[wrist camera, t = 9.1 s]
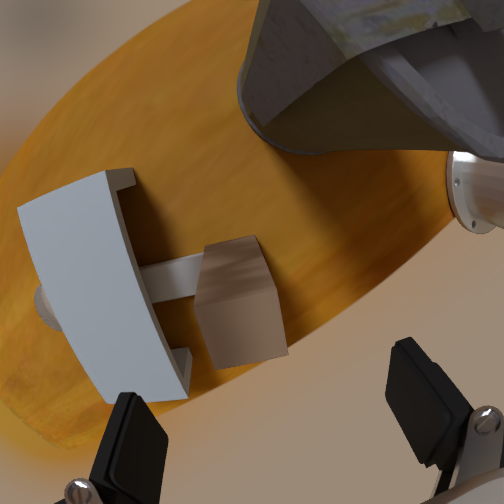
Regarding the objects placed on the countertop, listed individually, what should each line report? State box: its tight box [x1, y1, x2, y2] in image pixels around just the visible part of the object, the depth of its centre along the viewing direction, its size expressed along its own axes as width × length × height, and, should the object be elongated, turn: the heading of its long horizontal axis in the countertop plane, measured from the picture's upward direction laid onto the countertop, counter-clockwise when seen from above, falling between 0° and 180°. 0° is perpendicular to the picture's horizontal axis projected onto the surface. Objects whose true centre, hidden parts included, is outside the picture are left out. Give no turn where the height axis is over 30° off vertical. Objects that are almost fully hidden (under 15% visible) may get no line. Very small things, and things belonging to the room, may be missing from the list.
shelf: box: [17, 168, 193, 404], centre depth 20 cm, size 8×18×6 cm, turn 11°
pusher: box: [138, 235, 288, 370], centre depth 18 cm, size 16×4×10 cm, turn 101°
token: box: [34, 284, 63, 331], centre depth 22 cm, size 5×5×2 cm
